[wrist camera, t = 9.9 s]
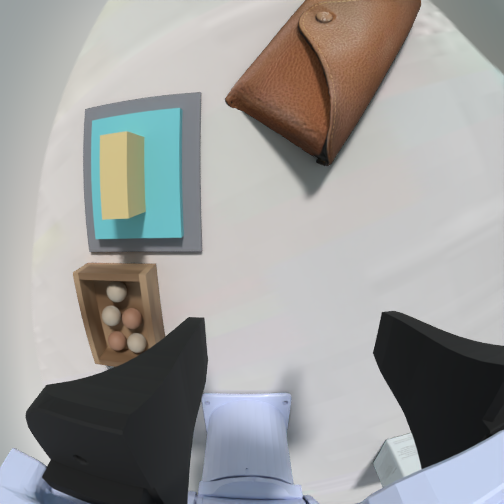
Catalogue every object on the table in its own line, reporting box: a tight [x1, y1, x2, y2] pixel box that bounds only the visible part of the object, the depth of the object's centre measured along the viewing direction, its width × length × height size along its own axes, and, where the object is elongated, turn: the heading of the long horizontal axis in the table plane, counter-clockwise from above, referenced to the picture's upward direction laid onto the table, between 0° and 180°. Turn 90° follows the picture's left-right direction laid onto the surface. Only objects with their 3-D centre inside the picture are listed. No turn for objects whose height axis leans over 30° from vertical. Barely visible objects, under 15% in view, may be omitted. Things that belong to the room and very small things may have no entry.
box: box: [73, 263, 165, 367], centre depth 20 cm, size 8×6×2 cm
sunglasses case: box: [225, 0, 421, 166], centre depth 15 cm, size 18×7×7 cm, turn 150°
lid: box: [91, 108, 184, 239], centre depth 16 cm, size 9×7×4 cm
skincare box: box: [373, 433, 421, 487], centre depth 24 cm, size 6×6×7 cm
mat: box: [83, 92, 202, 252], centre depth 18 cm, size 11×9×1 cm
